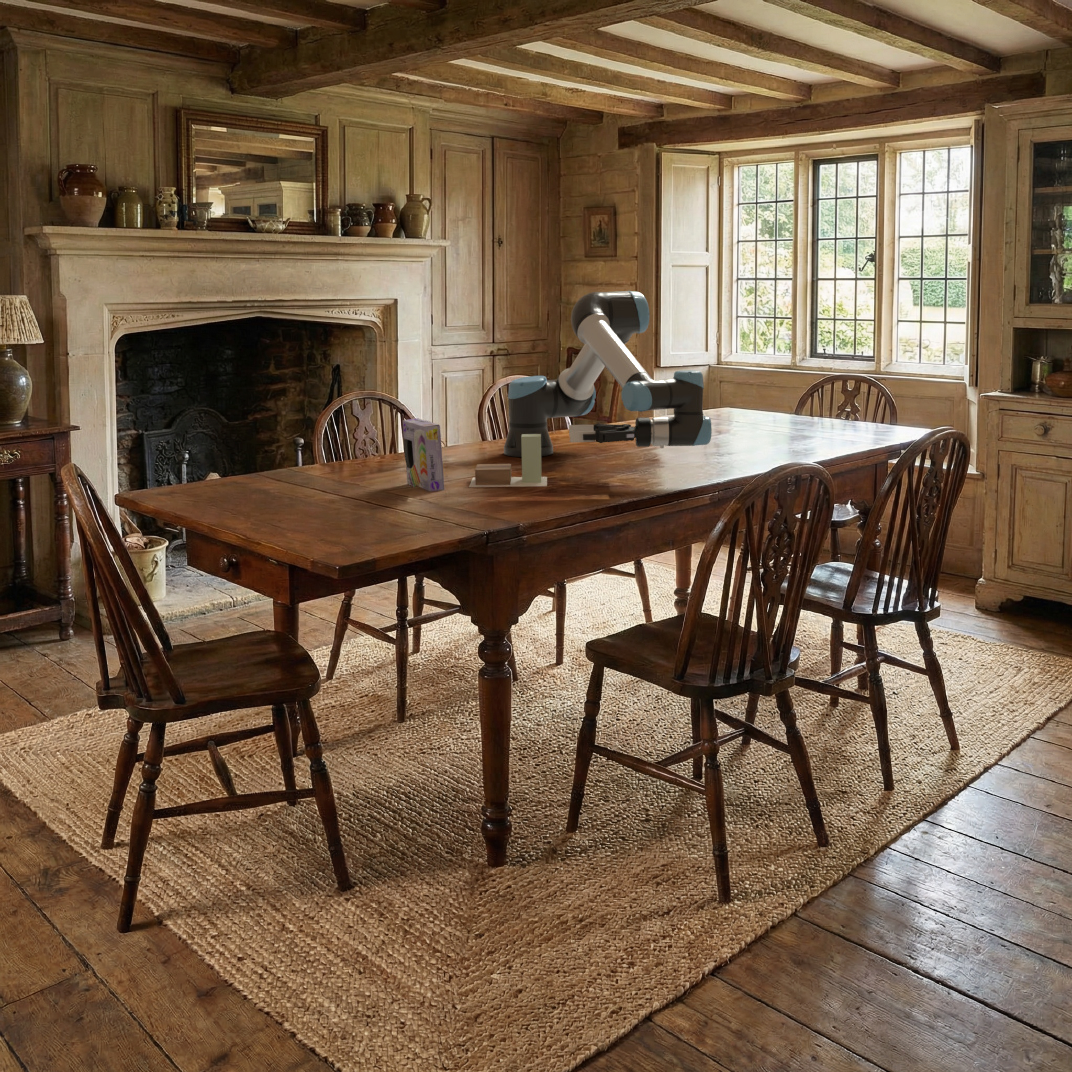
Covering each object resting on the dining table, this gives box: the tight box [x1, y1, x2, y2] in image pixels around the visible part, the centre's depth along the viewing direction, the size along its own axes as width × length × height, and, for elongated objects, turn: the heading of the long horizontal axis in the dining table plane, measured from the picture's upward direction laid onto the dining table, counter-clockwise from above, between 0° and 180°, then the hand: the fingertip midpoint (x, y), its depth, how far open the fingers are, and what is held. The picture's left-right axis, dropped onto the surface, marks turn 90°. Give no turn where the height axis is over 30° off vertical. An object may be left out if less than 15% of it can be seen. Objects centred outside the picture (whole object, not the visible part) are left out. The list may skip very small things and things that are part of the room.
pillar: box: [521, 434, 542, 483], centre depth 304 cm, size 5×5×12 cm
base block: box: [474, 463, 512, 485], centre depth 304 cm, size 9×9×4 cm
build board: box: [468, 476, 548, 488], centre depth 305 cm, size 14×20×1 cm
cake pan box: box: [402, 417, 445, 492], centre depth 301 cm, size 19×5×18 cm, turn 24°
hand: (569, 433), depth 302 cm, fingers open, 13 cm apart
